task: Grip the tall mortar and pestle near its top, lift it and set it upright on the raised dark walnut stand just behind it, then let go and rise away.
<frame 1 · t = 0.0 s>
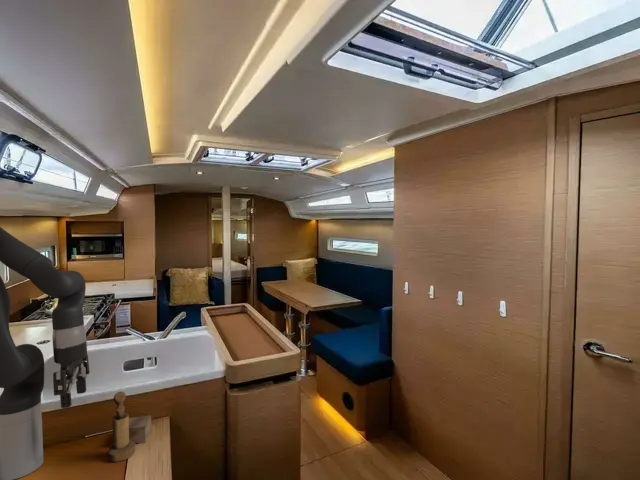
hand: (74, 399, 94), 17 cm above the table, tool pointing down, fingers open, 8 cm apart
walnut stand: (134, 438, 104), on the table
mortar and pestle: (121, 455, 96), on the table
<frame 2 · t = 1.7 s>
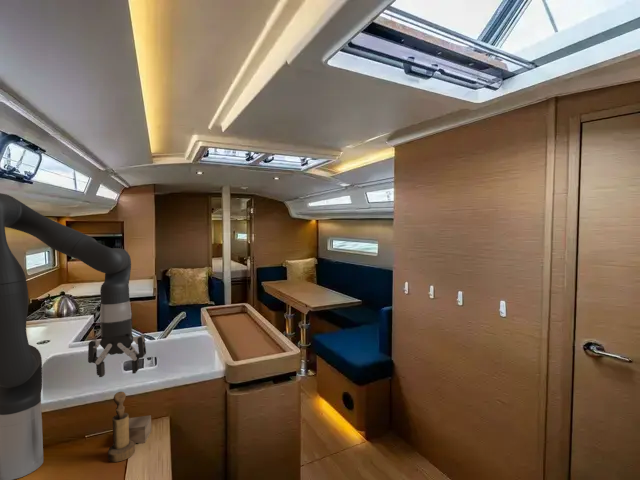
hand: (118, 374, 96), 23 cm above the table, tool pointing down, fingers open, 8 cm apart
nothing on the table moved.
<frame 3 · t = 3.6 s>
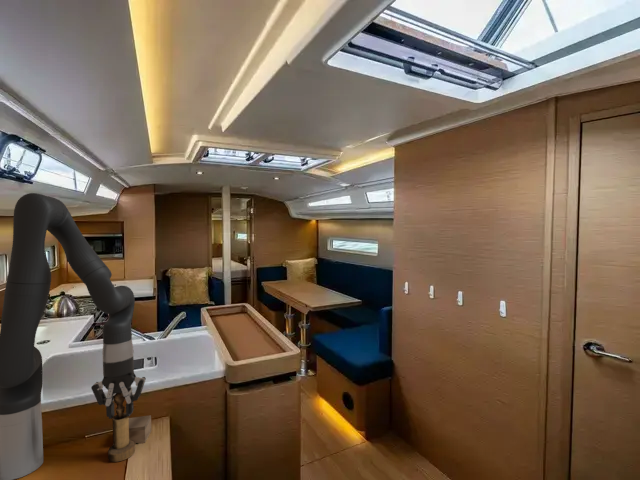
hand: (120, 415, 96), 11 cm above the table, tool pointing down, fingers closed on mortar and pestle, 4 cm apart
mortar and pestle: (121, 455, 96), on the table, touching gripper
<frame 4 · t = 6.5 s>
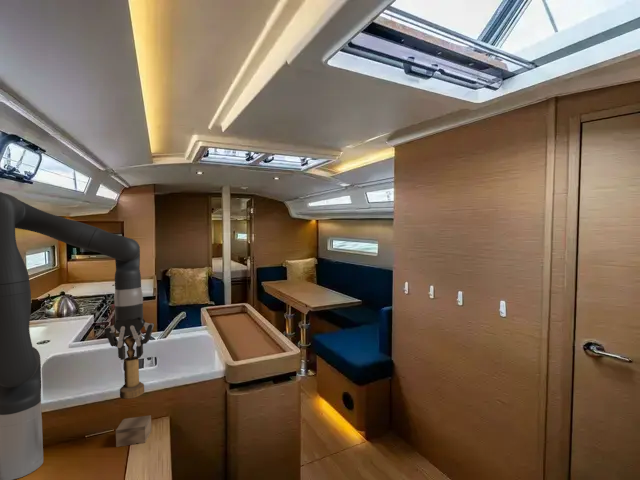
hand: (131, 357, 103), 25 cm above the table, tool pointing down, fingers closed on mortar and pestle, 4 cm apart
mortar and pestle: (132, 394, 103), point 14 cm above the table, touching gripper
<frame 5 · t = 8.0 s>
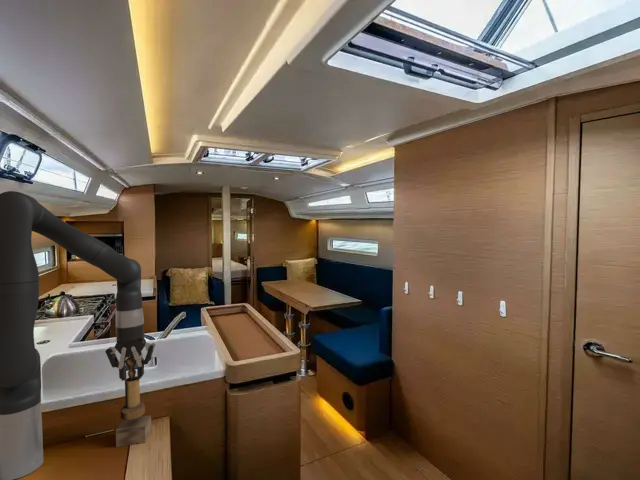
hand: (132, 378, 103), 19 cm above the table, tool pointing down, fingers closed on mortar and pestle, 4 cm apart
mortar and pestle: (133, 415, 104), point 7 cm above the table, touching gripper
when the fingers open (18 cm above the table, at t = 9.1 s): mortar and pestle drops 1 cm, resting on walnut stand.
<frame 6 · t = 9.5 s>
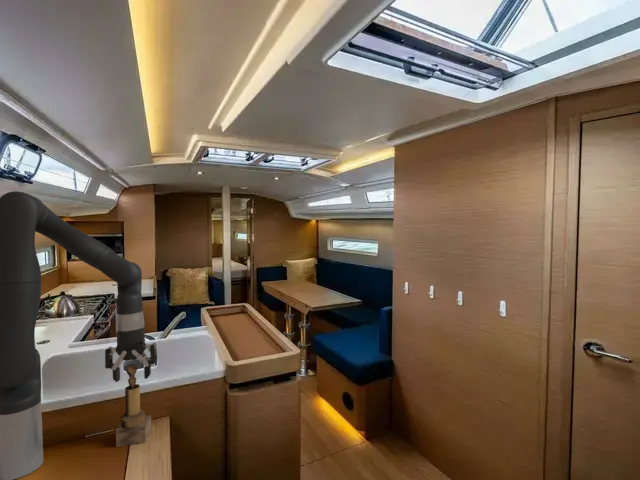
hand: (132, 379, 104), 19 cm above the table, tool pointing down, fingers open, 8 cm apart
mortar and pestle: (133, 423, 104), point 5 cm above the table, touching walnut stand
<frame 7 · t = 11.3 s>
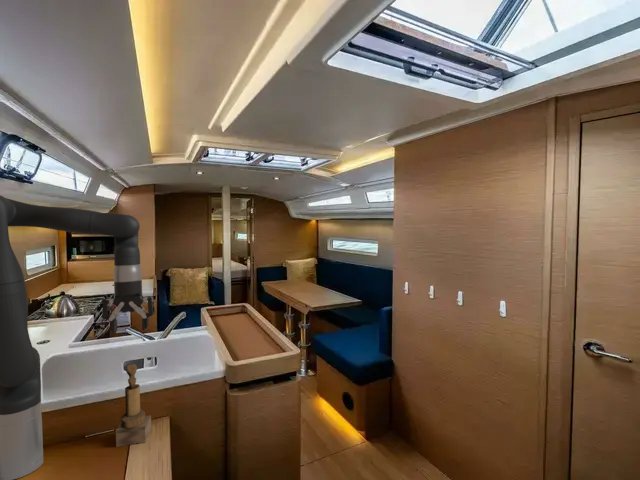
hand: (129, 331, 104), 33 cm above the table, tool pointing down, fingers open, 8 cm apart
nothing on the table moved.
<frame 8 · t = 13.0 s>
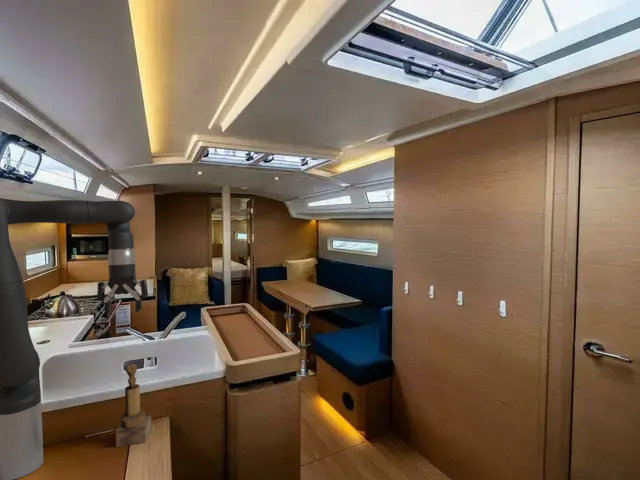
hand: (123, 312, 109), 38 cm above the table, tool pointing down, fingers open, 8 cm apart
nothing on the table moved.
at the end: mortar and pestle 0.1 cm off-centre on the walnut stand, point 4.8 cm above the walnut stand's base; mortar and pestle tilted 0°; the gripper is holding nothing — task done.
